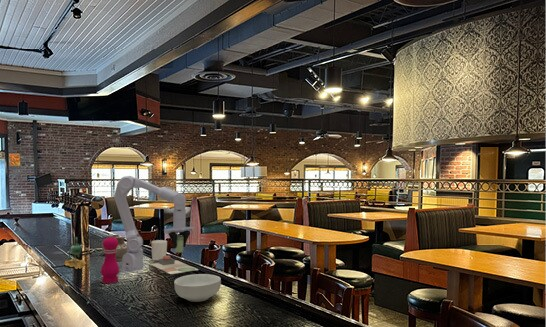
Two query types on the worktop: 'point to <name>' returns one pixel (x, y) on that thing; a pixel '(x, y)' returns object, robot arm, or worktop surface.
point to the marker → (179, 243)
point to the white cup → (158, 249)
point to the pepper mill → (110, 260)
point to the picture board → (173, 266)
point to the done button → (166, 258)
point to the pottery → (119, 247)
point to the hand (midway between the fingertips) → (179, 247)
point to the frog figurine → (76, 251)
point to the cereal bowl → (197, 286)
